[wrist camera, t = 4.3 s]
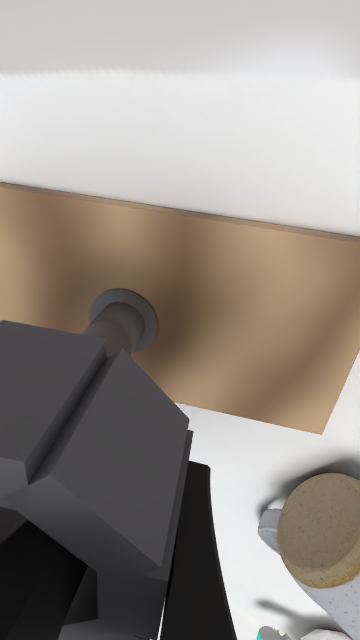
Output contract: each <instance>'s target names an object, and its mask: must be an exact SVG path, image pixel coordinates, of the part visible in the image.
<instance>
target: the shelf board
mask: <svg viewBox="0 0 360 640" xmlns="http://www.w3.org/2000/svg"><path fill="white" fill-rule="evenodd" d="M2 320H7V321H12V322H18V323H23V324H29V325H34V326H39V327H45V328H50V329H55V330H61V331H66V332H71V333H77V334H82V335H88V336H93V337H98V338H104V339H107V357H109V356H110V355H112V354H113V353H115V352H116V351H118V350H120V349H121V348H123V349H124V350H125V351H126V352H127V353H128V354H129V355H130V356H131V357H132V358H133V360H134V361H135V362H136V363H137V364H138V365H139V366H140V367H141V368H142V369H143V370H144V371H145V372H146V373H147V375H148V376H149V377H150V378H151V379H152V380H153V381H154V382H155V383H156V384H157V385H158V386H159V387H160V388H161V390H162V391H163V392H164V393H165V394H166V395H167V396H168V397H169V398H170V399H171V400H172V401H173V402H177V403H181V404H186V405H190V406H195V407H199V408H204V409H208V410H213V411H217V412H222V413H226V414H231V415H235V416H240V417H244V418H248V419H253V420H257V421H262V422H266V423H271V424H275V425H280V426H284V427H289V428H293V429H298V430H302V431H307V432H311V433H316V434H320V435H322V433H323V431H324V429H325V426H326V424H327V422H328V420H329V417H330V415H331V413H332V411H333V408H334V406H335V404H336V402H337V399H338V397H339V395H340V393H341V391H342V388H343V386H344V384H345V382H346V379H347V377H348V375H349V373H350V370H351V368H352V366H353V364H354V361H355V359H356V357H357V355H358V352H359V350H360V237H356V236H349V235H343V234H336V233H330V232H323V231H317V230H310V229H304V228H297V227H290V226H284V225H277V224H271V223H264V222H258V221H251V220H245V219H238V218H231V217H225V216H218V215H212V214H205V213H199V212H192V211H186V210H179V209H172V208H166V207H159V206H153V205H146V204H140V203H133V202H126V201H120V200H113V199H107V198H100V197H94V196H87V195H81V194H74V193H67V192H61V191H54V190H48V189H41V188H35V187H28V186H22V185H15V184H8V183H2V182H0V322H1V321H2Z"/></svg>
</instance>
